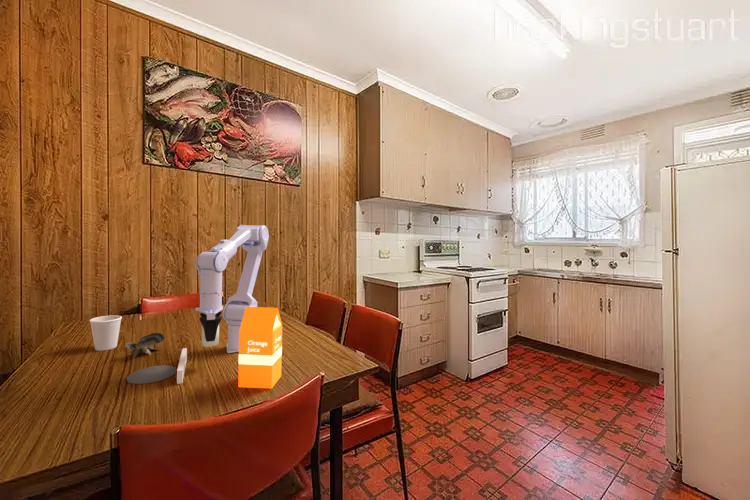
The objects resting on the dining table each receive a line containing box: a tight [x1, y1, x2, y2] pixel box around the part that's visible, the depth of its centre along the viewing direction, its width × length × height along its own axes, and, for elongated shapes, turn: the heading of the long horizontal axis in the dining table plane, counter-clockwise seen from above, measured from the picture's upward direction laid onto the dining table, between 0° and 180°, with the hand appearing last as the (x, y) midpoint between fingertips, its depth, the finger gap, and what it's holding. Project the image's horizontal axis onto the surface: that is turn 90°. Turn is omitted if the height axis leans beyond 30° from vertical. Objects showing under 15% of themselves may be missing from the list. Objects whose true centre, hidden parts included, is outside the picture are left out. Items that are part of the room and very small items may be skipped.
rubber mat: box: [126, 364, 177, 385], centre depth 85 cm, size 11×11×1 cm
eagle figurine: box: [125, 332, 166, 360], centre depth 100 cm, size 8×7×9 cm
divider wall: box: [176, 347, 188, 385], centre depth 89 cm, size 1×18×4 cm, turn 28°
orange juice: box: [237, 306, 283, 389], centre depth 83 cm, size 8×9×20 cm
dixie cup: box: [89, 314, 123, 352], centre depth 105 cm, size 8×8×10 cm
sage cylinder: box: [201, 324, 220, 348], centre depth 92 cm, size 4×4×6 cm
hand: (210, 338), depth 92 cm, fingers closed on sage cylinder, 4 cm apart
